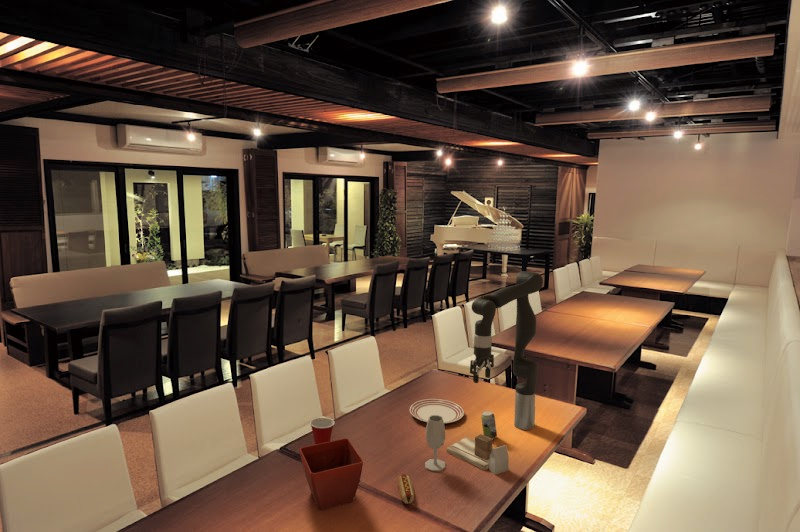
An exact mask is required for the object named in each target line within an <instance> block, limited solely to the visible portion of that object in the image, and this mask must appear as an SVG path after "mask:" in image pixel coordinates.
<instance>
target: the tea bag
mask: <svg viewBox="0 0 800 532" xmlns="http://www.w3.org/2000/svg"><path fill="white" fill-rule="evenodd" d="M492 448H493V447H492ZM509 459H510V458H509V453H508V448H507V444H505V445H500V446H498V447H494V448H493V449H492V452H491V454H490V458H489V468H488V470H489V471H490V472H491V473H492V474H493V473H494V474H493V475H498V474H501V472H502V473H505V472H507V471H509V461H510V460H509Z"/></svg>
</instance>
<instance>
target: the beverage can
mask: <svg viewBox="0 0 800 532" xmlns="http://www.w3.org/2000/svg"><path fill="white" fill-rule="evenodd" d="M480 419H481V425H482V432H483V434H482V435H485V436H487V437H489V438H492V439H494V440H495V438H497V436H498V432H497V426H496V425H497V424H496V418H495V414H494V412H493V411H490V410H488V411H483V412H482V413H481V418H480Z"/></svg>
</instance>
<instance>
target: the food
mask: <svg viewBox="0 0 800 532" xmlns="http://www.w3.org/2000/svg"><path fill="white" fill-rule="evenodd" d="M397 481H398V482H397V488H398V492H399V496H400V499H401V500H402V502H403V503H404V504H407V505H408V504H412V503H413V502H414V500H415V491H414V486H413V484H412V481H411V479H410V476H409V475H406V474H405V473H402V474H401V475H400V476H399V477H398V480H397Z"/></svg>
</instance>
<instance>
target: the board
mask: <svg viewBox="0 0 800 532" xmlns="http://www.w3.org/2000/svg"><path fill="white" fill-rule="evenodd" d="M474 448H475V439H472V438H470V437H468V436H466V437H464V438H462V439H460V440H458V441H457V442H455V443H453V444H451V445H449V446H447V447H446V453H447V452H448V453H447V454H449V453H450V454H449V455H451V454H452V456H453V455H454V457H455V456H456V458H458V459H459V460H461V461H464V462H466V463H468V464H470V465H472V466H474V467H476V468H478V469H481V470H483V471H487V470H489V459H488V460H485V459H482V458H480V457H478V456H476V455H475V450H474ZM492 449H493V447H492Z"/></svg>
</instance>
